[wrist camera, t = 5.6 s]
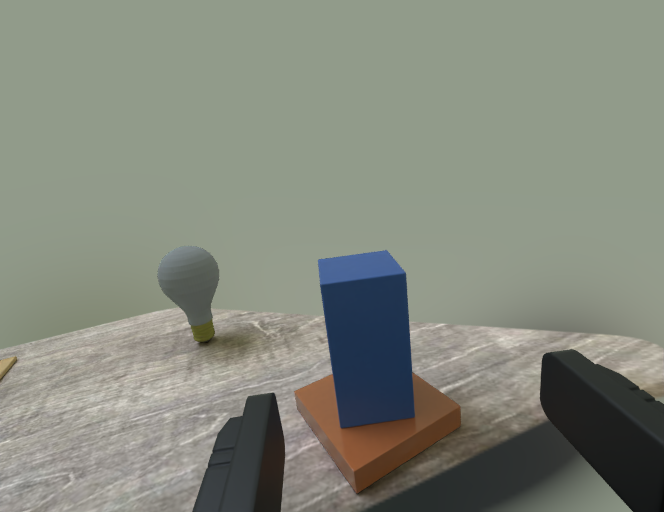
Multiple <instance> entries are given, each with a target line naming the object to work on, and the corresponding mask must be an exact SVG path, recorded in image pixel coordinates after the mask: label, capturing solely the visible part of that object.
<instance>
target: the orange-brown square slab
mask: <svg viewBox="0 0 664 512" xmlns="http://www.w3.org/2000/svg"><path fill="white" fill-rule="evenodd" d="M412 377H413V392H414V408H415V417H414V418H407V419H400V420H394V421H387V422H380V423H374V424H367V425H361V426H354V427H347V428H341V427H340V422H339V415H338V408H337V401H336V394H335V387H334V380H333V374H331V375H329V376H327V377H325V378H323V379H320V380H318V381H316V382H314V383H312V384H309V385H307V386H305V387H303V388H300V389H298V390H296V391H294V393H295V399H296V404H297V409H298V411H299V412H300V413H301V415H302V416H303V418H304V419H305V421H306V422H307V423H308V425H309V426H310V428H311V429H312V431H313V432H314V433H315V435H316V436H317V438H318V439H319V441H320V442H321V444H322V445H323V446H324V448H325V449H326V451H327V452H328V454H329V455H330V456H331V458H332V459H333V461H334V462H335V464H336V465H337V466H338V468H339V469H340V471H341V472H342V474H343V475H344V476H345V478H346V479H347V481H348V482H349V484H350V485H351V486H352V488H353V489H354V491H355V492H356V493H359V492H360V491H362V490H363V489H365V488H367V487H368V486H370V485H371V484H373V483H374V482H376V481H377V480H379V479H380V478H382V477H383V476H385V475H386V474H388V473H390V472H391V471H393V470H394V469H396V468H397V467H399V466H400V465H402V464H403V463H405V462H406V461H408V460H409V459H411V458H413V457H414V456H416V455H417V454H419V453H420V452H422V451H423V450H425V449H426V448H428V447H429V446H431V445H432V444H434V443H436V442H437V441H439V440H440V439H442V438H443V437H445V436H446V435H448V434H449V433H451V432H452V431H454V430H455V429H457V428H459V427H460V426H461V406H460V405H458V404H457V403H456V402H454V401H453V400H451V399H450V398H448V397H447V396H446V395H444V394H443V393H441V392H440V391H438V390H437V389H436V388H434V387H433V386H431V385H430V384H429V383H427V382H426V381H424V380H423V379H421V378H420V377H419V376H417V375H416V374H414V373H413V372H412Z"/></svg>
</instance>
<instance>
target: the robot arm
mask: <svg viewBox="0 0 664 512" xmlns="http://www.w3.org/2000/svg"><path fill="white" fill-rule="evenodd" d="M540 401H541V405H542V408H543V410H544V412H545V414H546V416H547V417H548V419H549V420H550V421H551V422H552V423H553V424H554V426H555V427H556V428H557V429H558V430H559V431H560V432H561V433H562V434H563V435H564V437H565V438H566V439H567V440H568V441H569V442H570V443H571V444H572V445H573V446H574V447H575V449H576V450H577V451H579V453H580V454H581V455H582V456H583V457H584V458H585V460H586V461H587V462H588V463H589V464H590V465H591V466H592V467H593V468H594V469H595V470H596V472H597V473H598V474H599V475H600V476H601V477H602V478H603V479H604V480H605V482H606V483H607V484H608V485H609V486H610V487H611V488H612V489H613V490H614V491H615V492H616V494H617V495H618V496H619V497H620V498H621V499H622V500H623V501H624V502H625V503H626V505H627V506H628V507H629V508H630V509H631V510H632V511H633V512H664V404H663V403H661V402H660V401H656V400H655V398H654V397H652V396H651V395H650V394H648V393H647V392H645V391H644V390H640V389H639V387H638V386H637V385H635V384H634V383H632V382H631V381H630V380H628V379H627V378H625V377H624V376H622V375H621V374H619V373H617V372H615V371H612V370H610V369H608V368H605V367H603V366H601V365H599V364H594V363H593V362H591V361H590V360H589V359H587V358H586V357H585V356H583V355H582V354H580V353H579V352H578V351H576V350H572V349H571V350H563V351H557V352H550V353H546V354H544V355H543V358H542V369H541V387H540ZM284 463H285V443H284V435H283V430H282V425H281V420H280V415H279V410H278V405H277V401H276V396H275V394H274V393H267V394H260V395H254V396H248V398H247V400H246V404H245V408H244V412H243V416H240V417H234V418H230V419H229V420H228V422H227V423H226V424H225V425H224V427H223V428H222V429H221V430H220V432H219V433H218V435H217V438H216V442H215V445H214V448H213V454H211V457H210V460H209V463H208V468H207V469H206V472H205V475H204V478H203V481H202V484H201V487H200V490H199V493H198V496H197V499H196V502H195V505H194V508H193V511H192V512H281V500H282V488H283V475H284Z"/></svg>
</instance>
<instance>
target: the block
mask: <svg viewBox="0 0 664 512" xmlns="http://www.w3.org/2000/svg"><path fill="white" fill-rule="evenodd" d="M318 266H319V277H320V287H321V294H322V301H323V308H324V316H325V323H326V330H327V337H328V344H329V351H330V358H331V365H332V372H333V380H334V387H335V394H336V401H337V408H338V415H339V422H340V427H341V428H347V427H354V426H361V425H367V424H374V423H380V422H387V421H394V420H400V419H407V418H414V417H415V408H414V392H413V377H412V361H411V345H410V330H409V314H408V298H407V283H406V273H405V272H404V270H403V269H402V268H401V267H400V266H399V264H398V263H397V262H396V261H395V260H394V259H393V257H392V256H391V255H390V253H389V252H388V251H387V250H385V251H378V252H371V253H363V254H356V255H349V256H342V257H334V258H326V259H319V260H318Z"/></svg>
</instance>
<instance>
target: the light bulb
mask: <svg viewBox="0 0 664 512" xmlns="http://www.w3.org/2000/svg"><path fill="white" fill-rule="evenodd" d="M158 281H159V285H160V287H161V288H162V291H163V292H164V294H165V295H167V296H168V297H169V298H170V299H171V300H172V301H173V302H174V303H175V304H177V305H178V306H179V307H180V308H181V309H182V310H183V311H184V312H185V313H186V315H187V318H188V322H189V324H190V325H191V329H192V332H193V335H194V340H195V341H198V342H207V341H209V339H211V338H212V337H213V336H214V334H215V331H214V328H213V327H214V326H213V322H212V318H213V316H212V313H211V302H212V299H213V296H214V293H215V291H216V288H217V284H218V281H219V269H218V265H217V262H216V261H215V259H214V258H213V256H212V255H211V254H210V253H208V252H207V251H206V250H204V249H202V248H199V247H194V246H183V247H179V248H176V249H174V250H173V251H171V252H169V253H168V254H167V255H166V256H165V257H164V258H163V259H162V261H161V263H160V265H159V268H158Z"/></svg>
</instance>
